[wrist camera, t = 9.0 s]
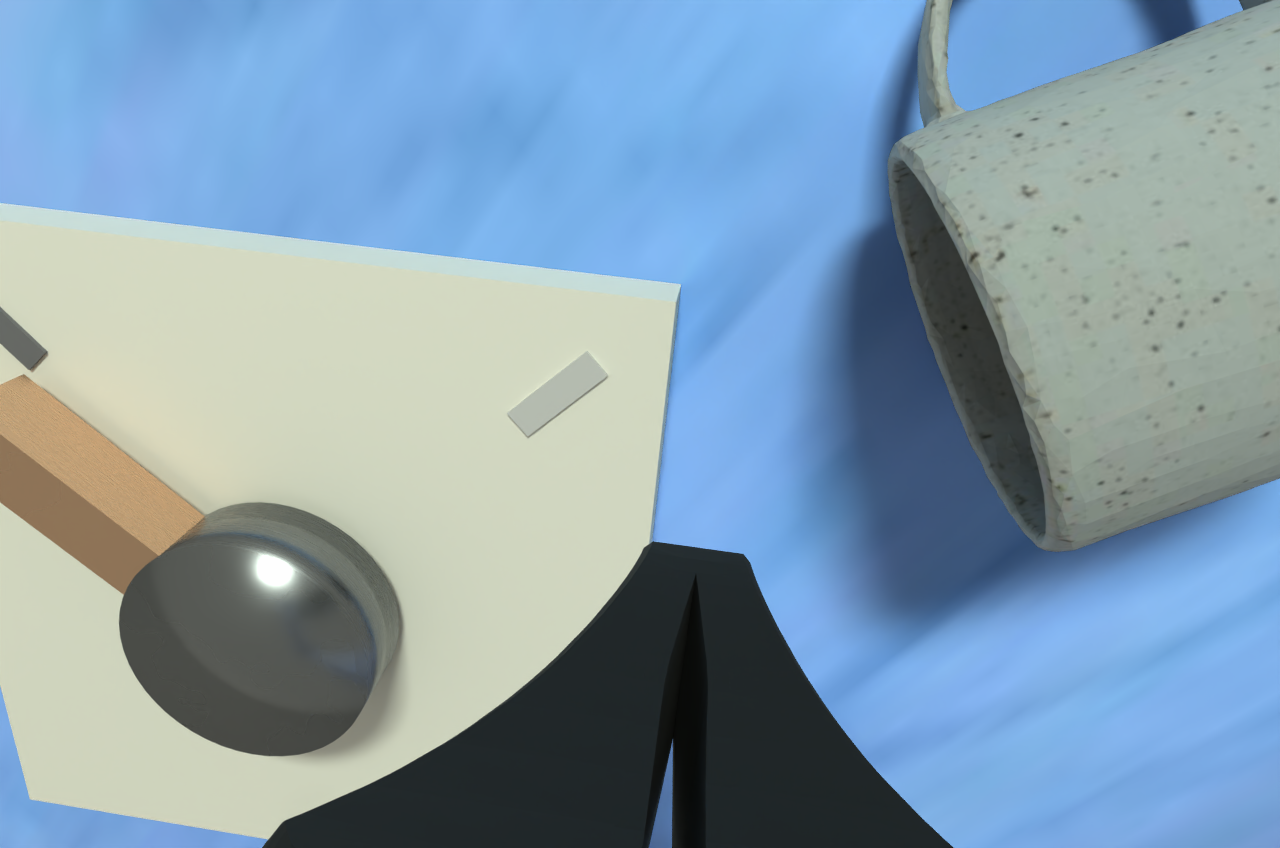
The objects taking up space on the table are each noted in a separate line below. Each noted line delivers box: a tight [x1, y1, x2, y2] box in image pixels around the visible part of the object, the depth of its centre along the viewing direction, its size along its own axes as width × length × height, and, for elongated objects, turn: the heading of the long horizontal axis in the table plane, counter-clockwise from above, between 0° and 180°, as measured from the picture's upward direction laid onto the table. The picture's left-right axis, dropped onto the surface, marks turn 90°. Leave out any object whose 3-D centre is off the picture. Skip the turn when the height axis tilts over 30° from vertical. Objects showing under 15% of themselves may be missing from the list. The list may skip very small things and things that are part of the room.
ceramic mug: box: [888, 0, 1280, 552], centre depth 14 cm, size 11×8×8 cm
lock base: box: [0, 203, 681, 839], centre depth 23 cm, size 18×18×2 cm
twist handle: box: [0, 374, 399, 756], centre depth 21 cm, size 11×6×2 cm, turn 46°
